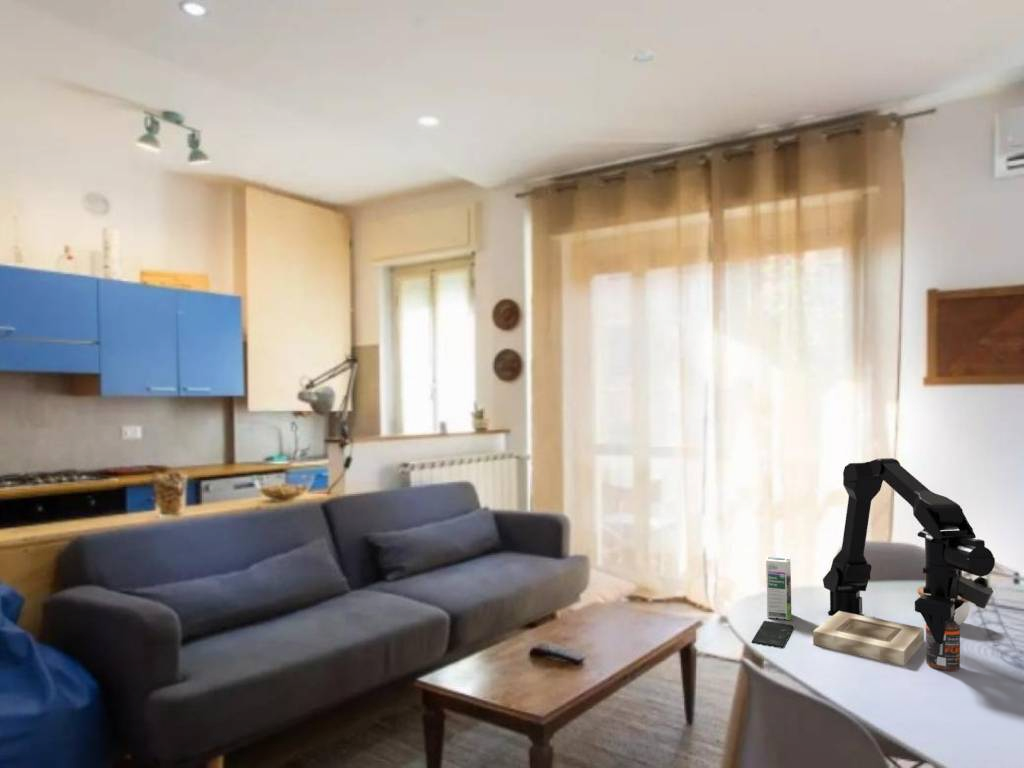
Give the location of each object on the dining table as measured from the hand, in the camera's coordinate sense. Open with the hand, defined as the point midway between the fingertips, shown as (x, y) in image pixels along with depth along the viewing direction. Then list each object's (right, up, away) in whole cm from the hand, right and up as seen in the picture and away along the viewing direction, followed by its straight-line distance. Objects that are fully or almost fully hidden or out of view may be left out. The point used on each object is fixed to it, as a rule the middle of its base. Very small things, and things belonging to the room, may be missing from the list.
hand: (942, 639), depth 139 cm
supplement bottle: (0, -6, 0) cm, 6 cm away
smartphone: (-28, -7, +19) cm, 34 cm away
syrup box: (-21, -6, +32) cm, 38 cm away
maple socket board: (-8, -6, +13) cm, 16 cm away
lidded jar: (+16, -6, +25) cm, 30 cm away
